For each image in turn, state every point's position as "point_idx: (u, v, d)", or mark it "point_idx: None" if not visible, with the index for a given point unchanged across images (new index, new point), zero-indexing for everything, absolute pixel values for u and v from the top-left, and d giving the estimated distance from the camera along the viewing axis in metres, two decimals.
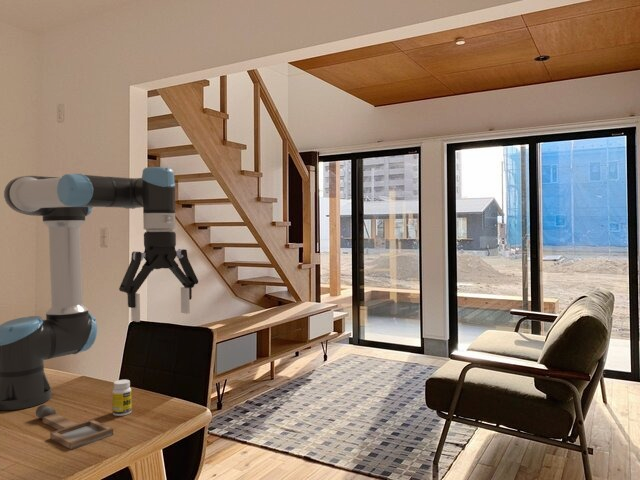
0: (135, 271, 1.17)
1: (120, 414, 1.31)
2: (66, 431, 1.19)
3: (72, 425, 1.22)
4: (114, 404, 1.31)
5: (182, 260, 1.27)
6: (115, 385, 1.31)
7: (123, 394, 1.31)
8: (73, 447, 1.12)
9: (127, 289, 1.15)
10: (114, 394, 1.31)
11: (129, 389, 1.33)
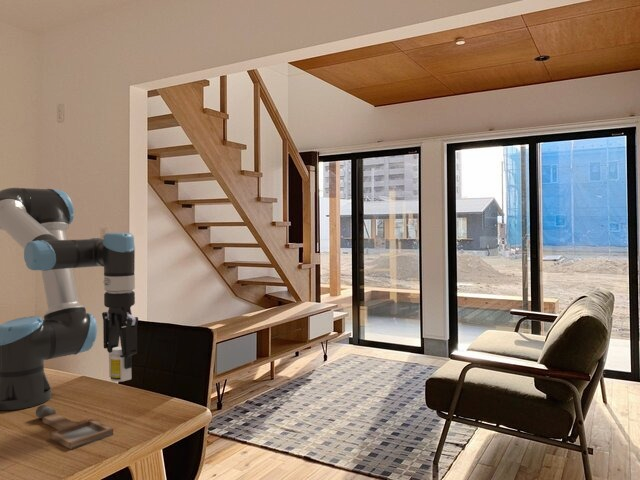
0: (104, 329, 1.35)
1: (118, 380, 1.31)
2: (66, 431, 1.19)
3: (72, 425, 1.22)
4: (112, 370, 1.31)
5: None
6: (113, 351, 1.31)
7: None
8: (73, 447, 1.12)
9: (104, 346, 1.35)
10: (112, 360, 1.31)
11: None
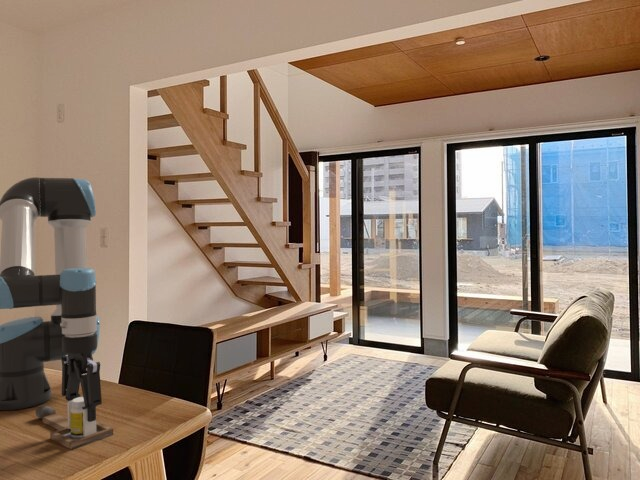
0: (63, 375, 1.20)
1: (79, 436, 1.16)
2: (66, 431, 1.19)
3: None
4: (72, 425, 1.16)
5: None
6: (73, 403, 1.17)
7: (82, 413, 1.16)
8: (73, 447, 1.12)
9: (62, 393, 1.21)
10: (72, 413, 1.16)
11: None
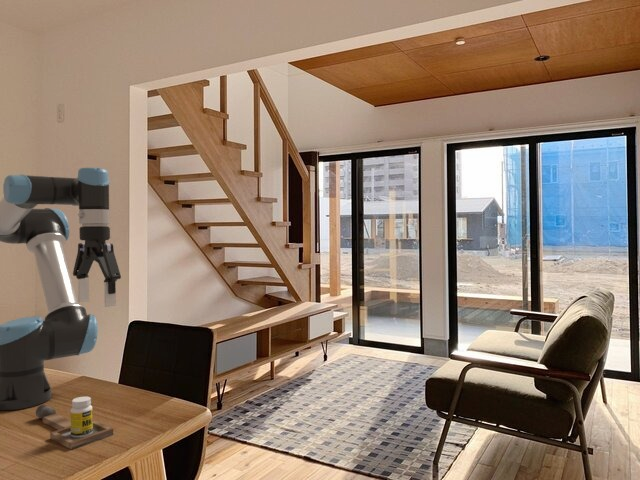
0: (77, 259, 1.39)
1: (79, 436, 1.16)
2: (66, 431, 1.19)
3: None
4: (72, 425, 1.16)
5: None
6: (73, 403, 1.17)
7: (82, 413, 1.16)
8: (73, 447, 1.12)
9: (74, 273, 1.40)
10: (72, 413, 1.16)
11: (90, 407, 1.18)
